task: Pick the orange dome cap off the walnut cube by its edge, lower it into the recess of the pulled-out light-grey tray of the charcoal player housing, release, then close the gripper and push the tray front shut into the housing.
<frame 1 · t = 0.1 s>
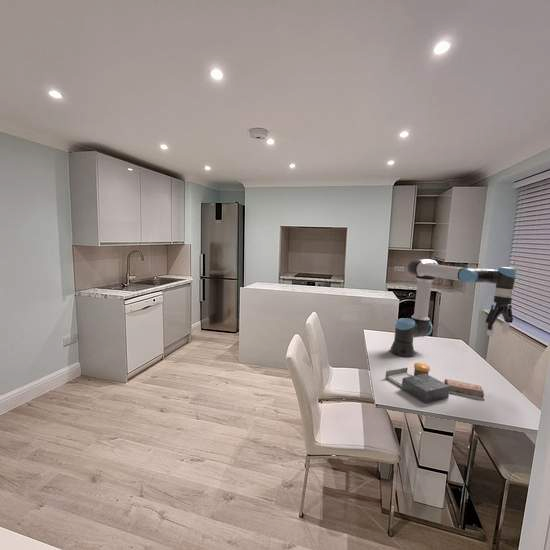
hand: (497, 334, 161), 28 cm above the table, fingers open, 13 cm apart
orange dome cap: (421, 368, 167), point 5 cm above the table, touching pedestal
housing: (424, 393, 149), on the table
pedestal: (420, 376, 168), on the table
packaged product: (461, 392, 153), on the table
tray: (405, 378, 160), point 2 cm above the table, slide at 11.0 cm
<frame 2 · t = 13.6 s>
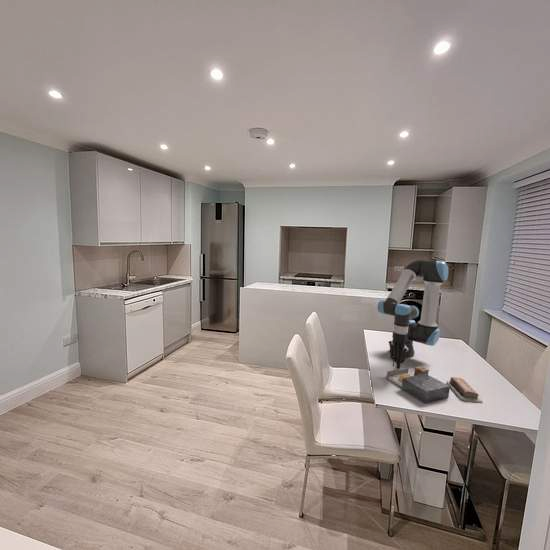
hand: (395, 373, 166), 2 cm above the table, fingers closed
orange dome cap: (407, 381, 159), point 1 cm above the table, touching tray
tray: (406, 378, 159), point 2 cm above the table, slide at 10.3 cm, touching orange dome cap, gripper
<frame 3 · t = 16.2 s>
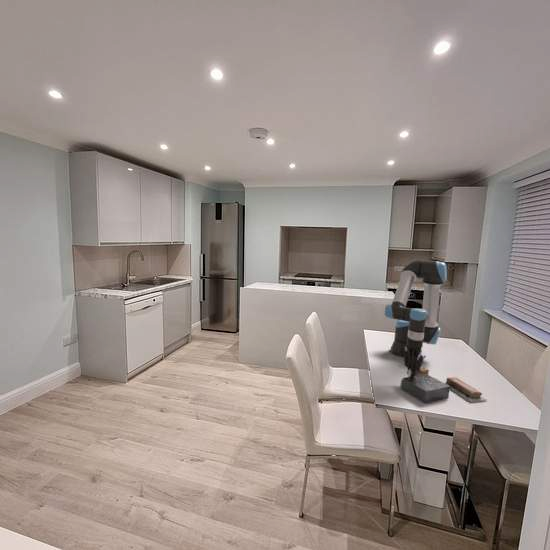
hand: (410, 381, 157), 2 cm above the table, fingers closed
orange dome cap: (423, 389, 150), point 1 cm above the table, touching tray
tray: (422, 387, 151), point 2 cm above the table, slide at 0.5 cm, touching orange dome cap, gripper
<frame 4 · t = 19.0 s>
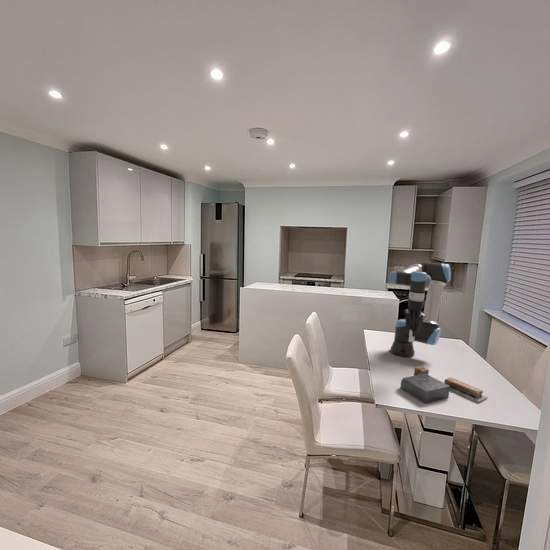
hand: (411, 341, 165), 20 cm above the table, fingers closed
tray: (422, 387, 151), point 2 cm above the table, slide at 0.5 cm, touching orange dome cap
at the end: tray slide at 0.5 cm; orange dome cap inside the target area on the housing (0.5 cm from its centre), point 1.3 cm above the housing's base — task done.
